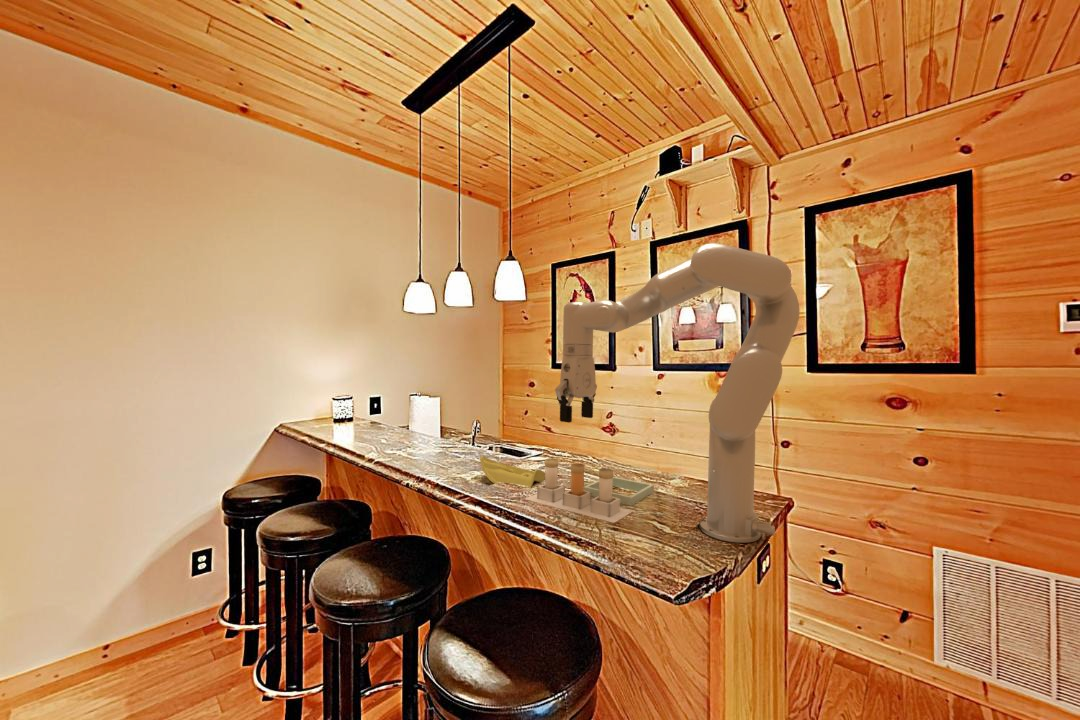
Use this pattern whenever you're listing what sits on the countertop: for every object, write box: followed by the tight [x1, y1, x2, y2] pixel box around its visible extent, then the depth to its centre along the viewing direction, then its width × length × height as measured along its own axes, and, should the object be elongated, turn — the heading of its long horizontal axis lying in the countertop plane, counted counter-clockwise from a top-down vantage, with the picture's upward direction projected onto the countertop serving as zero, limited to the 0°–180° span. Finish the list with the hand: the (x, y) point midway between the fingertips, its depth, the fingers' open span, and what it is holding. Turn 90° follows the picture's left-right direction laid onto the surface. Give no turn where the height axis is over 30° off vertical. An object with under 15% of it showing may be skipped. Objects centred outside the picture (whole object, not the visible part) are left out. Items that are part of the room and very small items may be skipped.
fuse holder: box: [524, 483, 634, 524], centre depth 116 cm, size 10×26×4 cm, turn 53°
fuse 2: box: [598, 468, 614, 503], centre depth 111 cm, size 3×3×10 cm
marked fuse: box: [570, 462, 586, 496], centre depth 116 cm, size 3×3×10 cm
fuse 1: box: [544, 457, 559, 490], centre depth 121 cm, size 3×3×10 cm
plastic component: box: [479, 455, 545, 488], centre depth 139 cm, size 20×7×10 cm
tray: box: [584, 476, 655, 507], centre depth 126 cm, size 14×14×4 cm
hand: (576, 419), depth 117 cm, fingers open, 9 cm apart
